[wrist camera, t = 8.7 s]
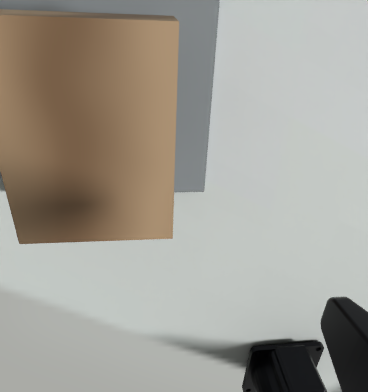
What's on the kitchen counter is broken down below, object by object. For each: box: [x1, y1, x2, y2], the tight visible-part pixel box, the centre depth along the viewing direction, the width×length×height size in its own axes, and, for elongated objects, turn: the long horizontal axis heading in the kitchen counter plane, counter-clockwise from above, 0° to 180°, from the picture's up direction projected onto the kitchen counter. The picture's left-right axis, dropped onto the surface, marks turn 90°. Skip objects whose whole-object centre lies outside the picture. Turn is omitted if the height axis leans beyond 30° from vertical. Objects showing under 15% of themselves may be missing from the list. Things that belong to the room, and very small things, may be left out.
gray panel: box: [0, 0, 219, 192], centre depth 17 cm, size 11×11×1 cm
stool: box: [0, 9, 179, 244], centre depth 14 cm, size 6×8×6 cm
